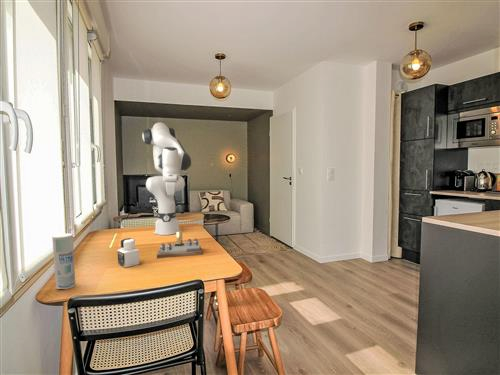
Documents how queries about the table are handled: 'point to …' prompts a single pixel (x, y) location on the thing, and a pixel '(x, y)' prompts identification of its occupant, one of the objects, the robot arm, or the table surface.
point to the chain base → (179, 254)
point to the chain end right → (188, 246)
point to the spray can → (64, 260)
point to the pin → (179, 238)
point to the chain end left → (169, 249)
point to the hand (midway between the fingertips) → (171, 201)
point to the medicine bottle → (128, 253)
